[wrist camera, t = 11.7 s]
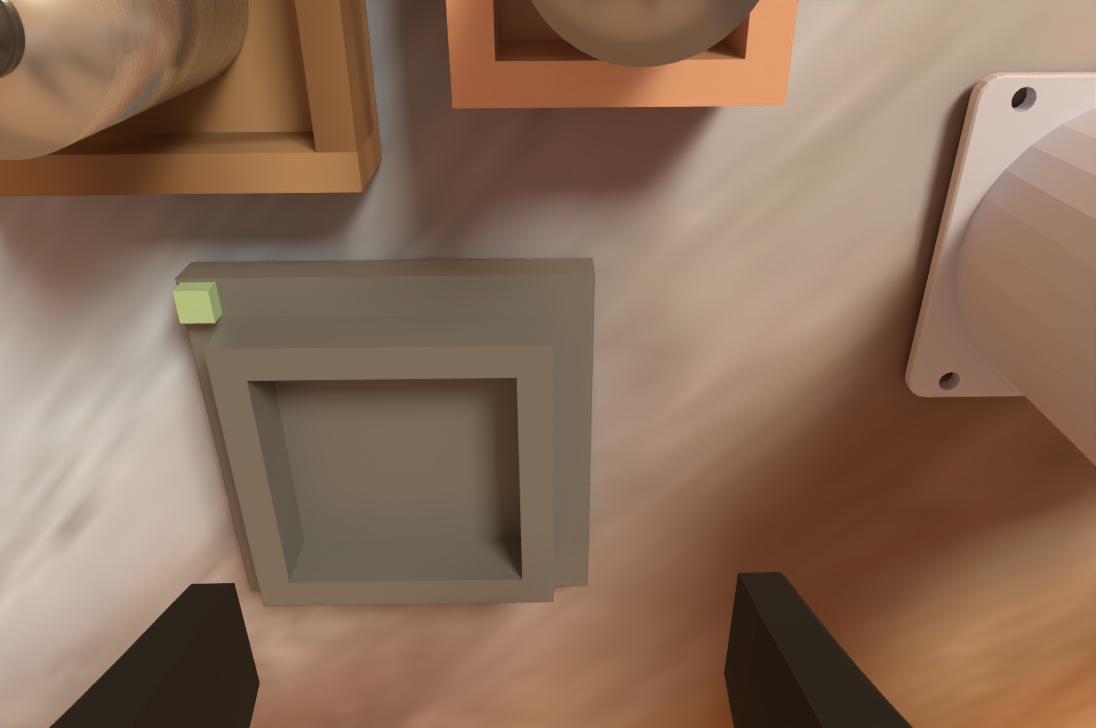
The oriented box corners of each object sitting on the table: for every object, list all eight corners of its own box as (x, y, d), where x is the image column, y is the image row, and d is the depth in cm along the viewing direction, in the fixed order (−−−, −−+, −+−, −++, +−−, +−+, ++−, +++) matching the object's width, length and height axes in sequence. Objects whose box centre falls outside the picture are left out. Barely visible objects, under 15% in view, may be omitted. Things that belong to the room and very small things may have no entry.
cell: (284, -10, 16) (148, 22, 11) (186, 125, 17) (16, 218, 12) (122, -157, 15) (-130, -210, 9) (29, -2, 16) (-244, 35, 11)
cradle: (592, 258, 20) (599, 303, 17) (585, 562, 24) (590, 629, 22) (191, 262, 20) (146, 307, 17) (261, 566, 24) (232, 633, 22)
